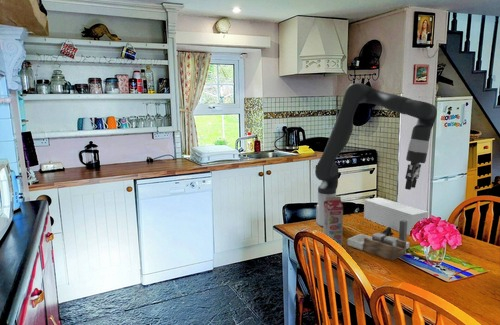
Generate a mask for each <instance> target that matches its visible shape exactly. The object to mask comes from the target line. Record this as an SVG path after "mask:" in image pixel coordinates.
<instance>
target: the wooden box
mask: <svg viewBox="0 0 500 325" xmlns="http://www.w3.org/2000/svg"><path fill="white" fill-rule="evenodd" d="M386 237H388V236H386ZM406 242H407V240H406V241H402V240H399V238H398V248H396V249H395V247H394V246H391V245H387V244H384V243H381V242H378V241H375V240H371V239H368V238H364V250H363V251H364V252H366V253H370V254H372V255H376V256H377V257H381V258H384V259H386V260H389V261H395V260H397V259H399V258H401V257H403V256H405V255H406V253H407V249H406Z"/></svg>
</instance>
